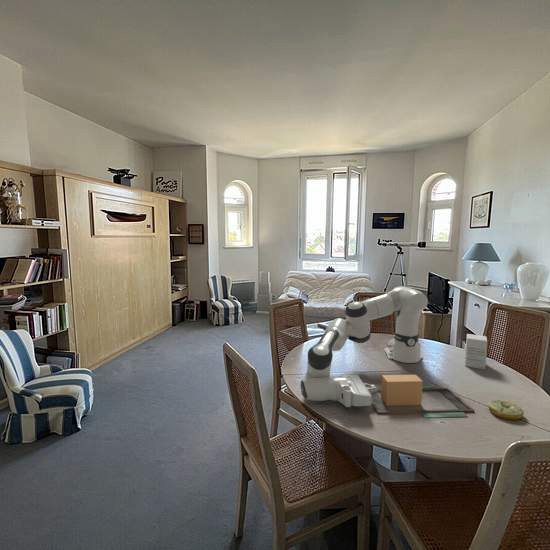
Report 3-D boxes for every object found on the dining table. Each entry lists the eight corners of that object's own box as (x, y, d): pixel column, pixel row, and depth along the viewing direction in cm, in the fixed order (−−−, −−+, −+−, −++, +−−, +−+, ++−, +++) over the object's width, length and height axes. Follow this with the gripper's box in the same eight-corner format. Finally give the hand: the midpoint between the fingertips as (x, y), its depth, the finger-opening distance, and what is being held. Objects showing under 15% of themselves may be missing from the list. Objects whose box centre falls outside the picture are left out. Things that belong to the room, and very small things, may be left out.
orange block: (381, 398, 132) (381, 375, 131) (414, 397, 133) (415, 374, 131) (386, 405, 126) (387, 381, 125) (421, 405, 127) (422, 381, 125)
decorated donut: (482, 406, 126) (482, 397, 125) (510, 406, 125) (510, 397, 125) (499, 421, 116) (499, 411, 115) (529, 422, 115) (530, 412, 115)
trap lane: (361, 387, 141) (361, 386, 141) (444, 386, 142) (444, 384, 142) (380, 418, 117) (380, 416, 117) (479, 416, 118) (479, 414, 118)
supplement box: (464, 360, 172) (466, 333, 170) (484, 363, 167) (486, 335, 165) (464, 366, 164) (466, 338, 162) (485, 369, 159) (487, 340, 158)
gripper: (335, 384, 139) (367, 383, 139) (347, 409, 118) (384, 409, 119) (336, 370, 138) (367, 369, 138) (348, 393, 118) (385, 392, 118)
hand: (375, 388), depth 128 cm, fingers closed
